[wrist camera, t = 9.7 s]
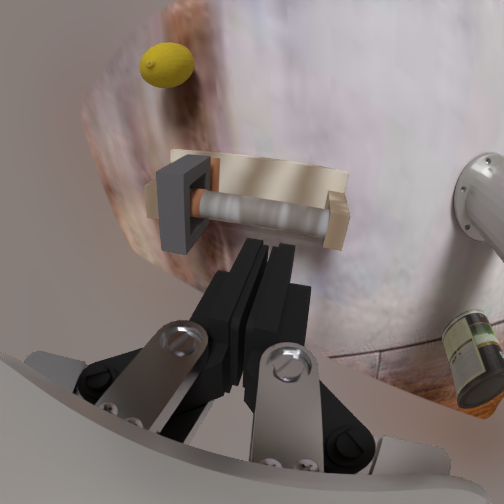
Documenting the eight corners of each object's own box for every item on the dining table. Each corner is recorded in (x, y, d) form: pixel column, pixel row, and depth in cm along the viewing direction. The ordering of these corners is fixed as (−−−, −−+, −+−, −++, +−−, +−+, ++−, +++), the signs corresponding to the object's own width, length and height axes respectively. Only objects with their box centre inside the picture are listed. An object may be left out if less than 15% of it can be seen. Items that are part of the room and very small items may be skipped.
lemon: (185, 95, 30) (151, 99, 24) (155, 72, 29) (118, 72, 22) (213, 62, 28) (184, 55, 21) (181, 38, 26) (147, 29, 20)
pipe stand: (347, 171, 31) (356, 192, 25) (333, 237, 36) (335, 270, 30) (173, 149, 34) (142, 164, 28) (174, 211, 39) (148, 236, 33)
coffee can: (486, 300, 35) (516, 362, 24) (487, 335, 39) (508, 392, 27) (437, 323, 40) (457, 391, 28) (443, 355, 43) (457, 415, 32)
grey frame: (210, 156, 32) (183, 174, 25) (209, 224, 37) (186, 255, 30) (187, 154, 32) (155, 171, 26) (187, 220, 37) (161, 250, 31)
